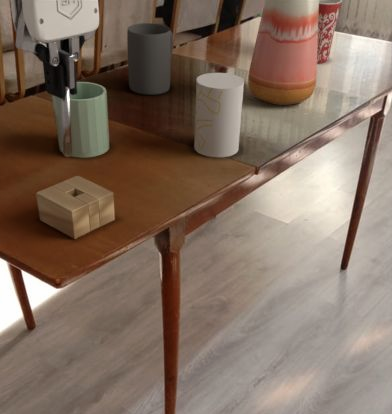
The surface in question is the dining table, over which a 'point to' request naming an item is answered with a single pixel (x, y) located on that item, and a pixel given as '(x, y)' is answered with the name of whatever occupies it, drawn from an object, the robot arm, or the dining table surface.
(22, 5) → the robot arm
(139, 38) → the mug
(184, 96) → the dining table surface
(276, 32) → the vase
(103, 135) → the mint green mug
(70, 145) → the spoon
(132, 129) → the dining table surface
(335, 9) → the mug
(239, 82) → the white cylinder
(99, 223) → the spoon stand
